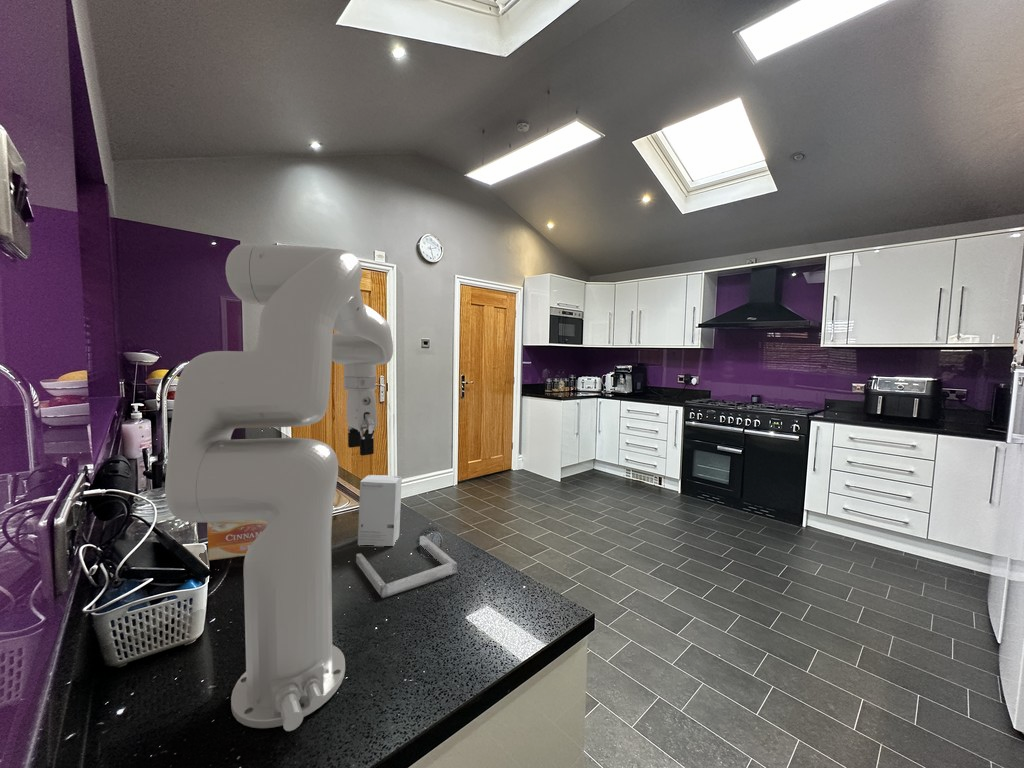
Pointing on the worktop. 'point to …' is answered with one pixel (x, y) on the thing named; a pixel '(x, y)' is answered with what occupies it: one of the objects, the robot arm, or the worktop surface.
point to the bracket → (415, 580)
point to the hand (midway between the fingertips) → (360, 450)
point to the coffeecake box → (232, 537)
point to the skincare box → (379, 510)
